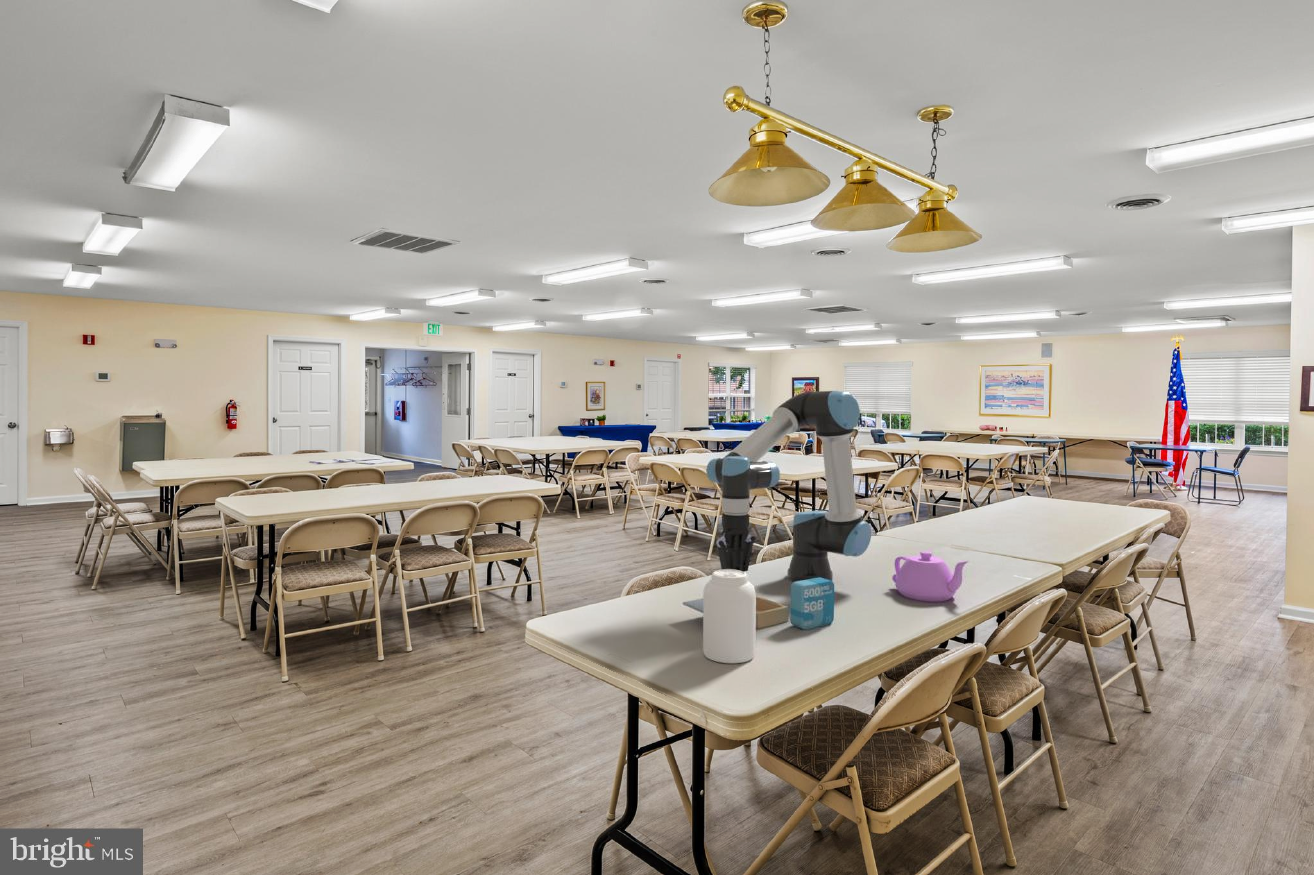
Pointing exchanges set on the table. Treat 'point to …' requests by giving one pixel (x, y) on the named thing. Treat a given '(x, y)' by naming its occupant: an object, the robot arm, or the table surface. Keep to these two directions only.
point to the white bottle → (729, 617)
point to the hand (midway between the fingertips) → (734, 597)
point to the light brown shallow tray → (770, 612)
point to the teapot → (927, 578)
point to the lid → (695, 604)
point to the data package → (812, 603)
